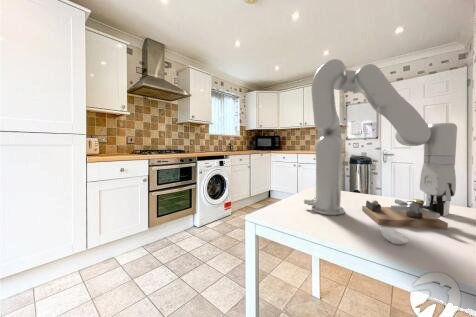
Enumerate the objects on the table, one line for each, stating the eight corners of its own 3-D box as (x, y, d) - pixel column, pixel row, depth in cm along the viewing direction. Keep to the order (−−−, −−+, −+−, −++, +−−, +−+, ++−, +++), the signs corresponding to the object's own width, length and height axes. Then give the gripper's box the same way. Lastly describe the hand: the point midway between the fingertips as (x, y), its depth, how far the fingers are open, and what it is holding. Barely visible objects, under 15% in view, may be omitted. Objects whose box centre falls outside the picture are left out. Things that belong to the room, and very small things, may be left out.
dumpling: (374, 238, 61) (375, 225, 61) (387, 235, 63) (388, 223, 62) (399, 250, 54) (400, 235, 54) (413, 246, 56) (414, 232, 56)
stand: (378, 224, 71) (379, 207, 70) (362, 210, 85) (362, 196, 85) (447, 229, 67) (448, 211, 66) (417, 213, 81) (418, 198, 81)
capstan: (412, 226, 64) (413, 208, 64) (376, 209, 80) (376, 195, 80) (461, 225, 65) (462, 207, 64) (415, 208, 80) (416, 194, 80)
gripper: (412, 159, 76) (410, 207, 78) (441, 162, 62) (438, 221, 63) (436, 159, 75) (434, 208, 76) (472, 162, 60) (468, 223, 61)
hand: (436, 214), depth 70 cm, fingers closed
